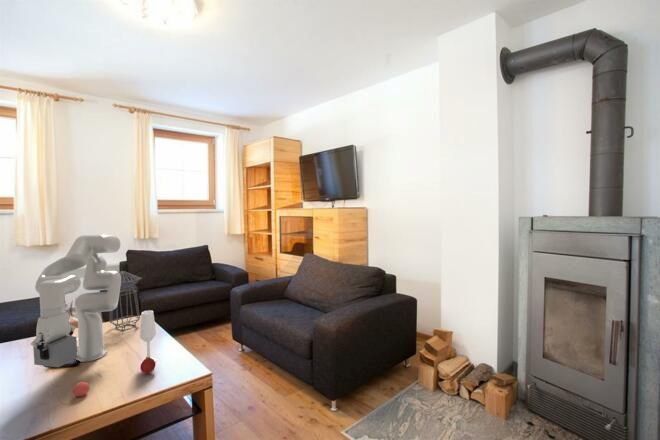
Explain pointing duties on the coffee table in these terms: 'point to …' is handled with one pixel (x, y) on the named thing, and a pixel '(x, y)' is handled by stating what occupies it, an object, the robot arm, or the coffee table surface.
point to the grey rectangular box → (58, 352)
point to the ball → (81, 389)
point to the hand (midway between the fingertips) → (55, 353)
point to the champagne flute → (147, 329)
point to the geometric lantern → (126, 300)
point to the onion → (147, 365)
